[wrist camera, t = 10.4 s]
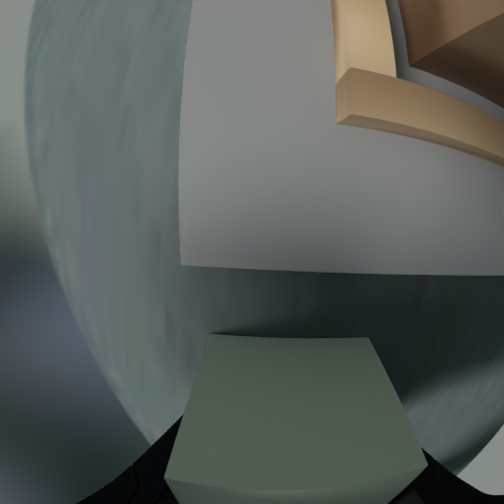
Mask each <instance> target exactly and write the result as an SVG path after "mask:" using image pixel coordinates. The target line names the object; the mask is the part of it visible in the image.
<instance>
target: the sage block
mask: <svg viewBox="0 0 504 504" xmlns="http://www.w3.org/2000/svg"><path fill="white" fill-rule="evenodd" d="M427 466H428V464H427V461H426V459H425V456H424V454H423V451H422V449H421V446H420V444H419V442H418V439H417V437H416V435H415V432H414V430H413V428H412V426H411V423H410V421H409V419H408V417H407V415H406V412H405V410H404V408H403V406H402V404H401V402H400V399H399V397H398V395H397V393H396V391H395V389H394V387H393V385H392V383H391V381H390V379H389V377H388V375H387V373H386V371H385V369H384V367H383V365H382V363H381V361H380V359H379V357H378V355H377V353H376V351H375V349H374V347H373V345H372V344H371V342H370V340H369V338H368V337H358V338H271V337H249V336H233V335H219V334H210V335H209V338H208V341H207V344H206V347H205V350H204V353H203V356H202V359H201V362H200V365H199V368H198V371H197V374H196V377H195V380H194V383H193V386H192V390H191V393H190V396H189V399H188V402H187V405H186V408H185V411H184V415H183V418H182V421H181V424H180V427H179V430H178V434H177V437H176V440H175V443H174V446H173V450H172V453H171V456H170V459H169V463H168V466H167V469H166V472H165V476H164V479H165V480H166V482H167V484H168V486H169V487H170V489H171V491H172V492H173V494H174V496H175V497H176V499H177V501H178V502H179V504H387V503H389V502H390V501H391V500H392V499H393V498H394V497H396V496H397V495H398V494H399V493H400V492H401V491H402V490H403V489H405V488H406V487H407V486H408V485H409V484H410V483H411V482H412V481H413V480H414V479H415V478H416V477H417V476H418V475H419V474H420V473H421V472H422V471H423V470H424V469H425V468H426V467H427Z"/></svg>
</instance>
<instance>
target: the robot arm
mask: <svg viewBox="0 0 504 504" xmlns="http://www.w3.org/2000/svg"><path fill="white" fill-rule="evenodd" d="M183 415H184V414H183ZM183 415H182V416H181V417H180V418H179V419H178V420H177V421H176V422H175V423H174V424H173V425H172V426H171V427H170V428H169V429H168V430H167V431H166V432H165V433H164V434H163V435H162V436H161V437H160V438H159V439H158V440H157V441H156V442H155V443H154V444H153V445H152V446H151V447H150V448H149V449H148V450H147V451H146V452H145V453H144V454H142V455H141V456H140V457H139V458H138V459H137V460H136V461H135V462H134V463H133V464H132V465H133V466H132V465H130V466H129V467H128V468H127V469H126V470H125V471H124V472H123V473H122V474H120V475H119V476H118V477H117V478H115V479H114V480H113V481H111V482H110V483H109V484H107V485H106V486H104V487H103V488H101V489H100V490H98V491H97V492H95V493H93V494H92V495H90V496H88V497H87V498H85V499H83V500H81V501H80V502H78V503H76V504H179V502H178V501H177V499H176V497H175V496H174V494H173V492H172V491H171V489H170V487H169V486H168V484H167V482H166V480H165V479H164V476H165V472H166V469H167V466H168V463H169V459H170V456H171V453H172V450H173V446H174V443H175V440H176V437H177V434H178V430H179V427H180V424H181V421H182V418H183ZM421 449H422V451H423V454H424V456H425V459H426V461H427V464H428V466H427V467H426V468H425V469H424V470H423V471H422V472H421V473H420V474H419V475H418V476H417V477H416V478H415V479H414V480H413V481H412V482H411V483H410V484H409V485H408V486H407V487H406V488H405V489H403V490H402V491H401V492H400V493H399V494H398V495H397V496H396V497H394V498H393V499H392V500H391V501H390V502H389V503H387V504H504V495H489V494H485V493H483V492H481V491H479V490H478V489H476V488H474V487H473V486H471V485H469V484H468V483H466V482H464V481H463V480H461V479H460V478H458V477H457V476H455V475H454V474H453V473H451V472H450V471H448V470H447V469H446V468H445V467H443V466H442V465H441V464H440V463H439V462H438V461H436V460H434V458H433V457H432V456H431V455H429V454H428V453H427V452H426V451H425V450H424V449H423V448H421Z"/></svg>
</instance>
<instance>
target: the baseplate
mask: <svg viewBox="0 0 504 504" xmlns="http://www.w3.org/2000/svg"><path fill="white" fill-rule="evenodd" d="M179 236H180V260H181V265H183V266H201V267H219V268H238V269H258V270H280V271H304V272H331V273H362V274H402V275H479V276H504V109H503V108H502V107H500V106H498V105H497V104H495V103H493V102H491V101H489V100H488V99H486V98H484V97H482V96H480V95H478V94H476V93H474V92H472V91H470V90H468V89H466V88H464V87H461V86H459V85H457V84H455V83H452V82H450V81H448V80H445V79H443V78H440V77H438V76H435V75H433V74H430V73H427V72H425V71H422V70H419V69H416V68H413V67H410V66H409V62H408V54H407V47H406V41H405V35H404V29H403V24H402V19H401V14H400V9H399V5H398V1H397V0H193V2H192V9H191V15H190V22H189V29H188V37H187V45H186V54H185V64H184V74H183V86H182V100H181V117H180V139H179Z"/></svg>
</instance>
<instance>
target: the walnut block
mask: <svg viewBox="0 0 504 504" xmlns="http://www.w3.org/2000/svg"><path fill="white" fill-rule="evenodd" d="M397 1H398V5H399V9H400V14H401V19H402V24H403V29H404V35H405V41H406V47H407V54H408V62H409V66H410V67H413V68H416V69H419V70H422V71H425V72H427V73H430V74H433V75H435V76H438V77H440V78H443V79H445V80H448V81H450V82H452V83H455V84H457V85H459V86H461V87H464V88H466V89H468V90H470V91H472V92H474V93H476V94H478V95H480V96H482V97H484V98H486V99H488V100H489V101H491V102H493V103H495V104H497V105H498V106H500V107H502V108H503V109H504V0H397Z"/></svg>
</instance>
